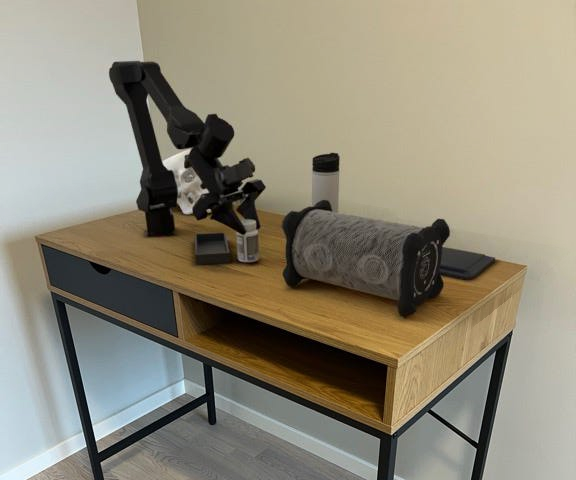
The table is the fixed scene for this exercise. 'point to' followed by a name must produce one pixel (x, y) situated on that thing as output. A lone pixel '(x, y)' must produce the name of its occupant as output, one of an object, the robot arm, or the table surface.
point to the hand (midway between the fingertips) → (252, 231)
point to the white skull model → (185, 182)
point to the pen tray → (211, 248)
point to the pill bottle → (248, 242)
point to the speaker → (365, 254)
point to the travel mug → (326, 179)
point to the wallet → (463, 263)
